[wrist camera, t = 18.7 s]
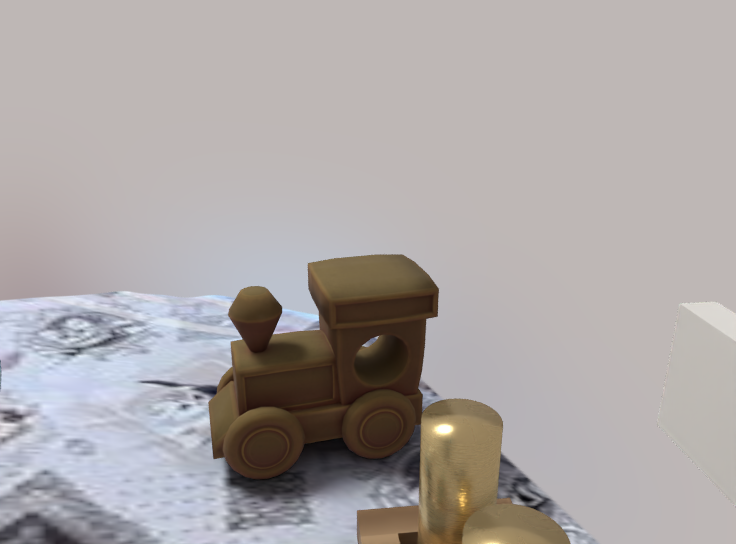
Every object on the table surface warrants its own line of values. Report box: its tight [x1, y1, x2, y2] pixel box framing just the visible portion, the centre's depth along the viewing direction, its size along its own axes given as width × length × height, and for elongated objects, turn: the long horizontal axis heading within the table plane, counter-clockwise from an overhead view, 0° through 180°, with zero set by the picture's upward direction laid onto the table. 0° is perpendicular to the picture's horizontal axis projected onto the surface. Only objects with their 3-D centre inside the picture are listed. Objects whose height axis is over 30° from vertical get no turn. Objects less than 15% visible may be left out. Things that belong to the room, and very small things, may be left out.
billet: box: [418, 399, 503, 544], centre depth 41 cm, size 5×5×14 cm
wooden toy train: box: [208, 255, 439, 479], centre depth 58 cm, size 20×11×17 cm, turn 106°
